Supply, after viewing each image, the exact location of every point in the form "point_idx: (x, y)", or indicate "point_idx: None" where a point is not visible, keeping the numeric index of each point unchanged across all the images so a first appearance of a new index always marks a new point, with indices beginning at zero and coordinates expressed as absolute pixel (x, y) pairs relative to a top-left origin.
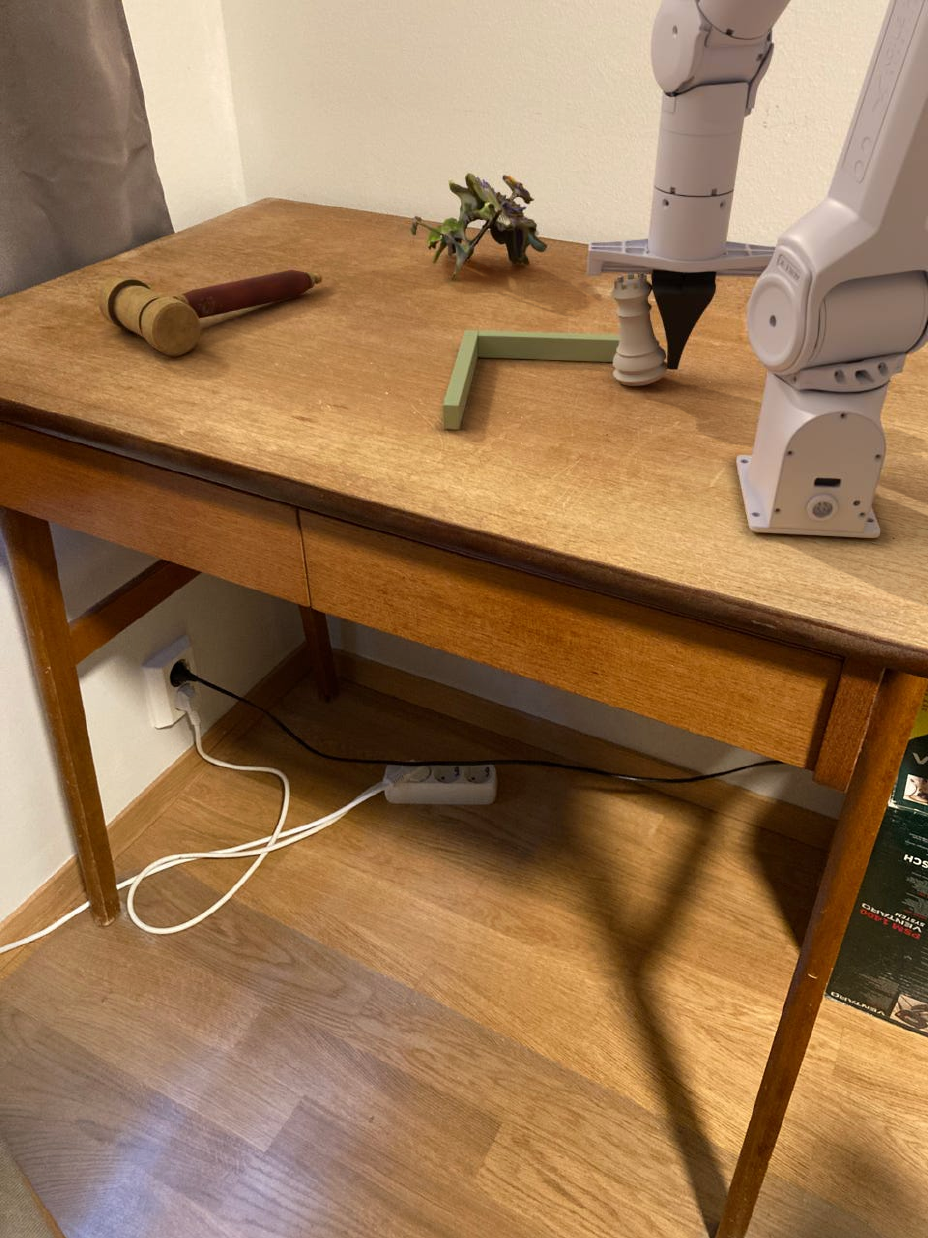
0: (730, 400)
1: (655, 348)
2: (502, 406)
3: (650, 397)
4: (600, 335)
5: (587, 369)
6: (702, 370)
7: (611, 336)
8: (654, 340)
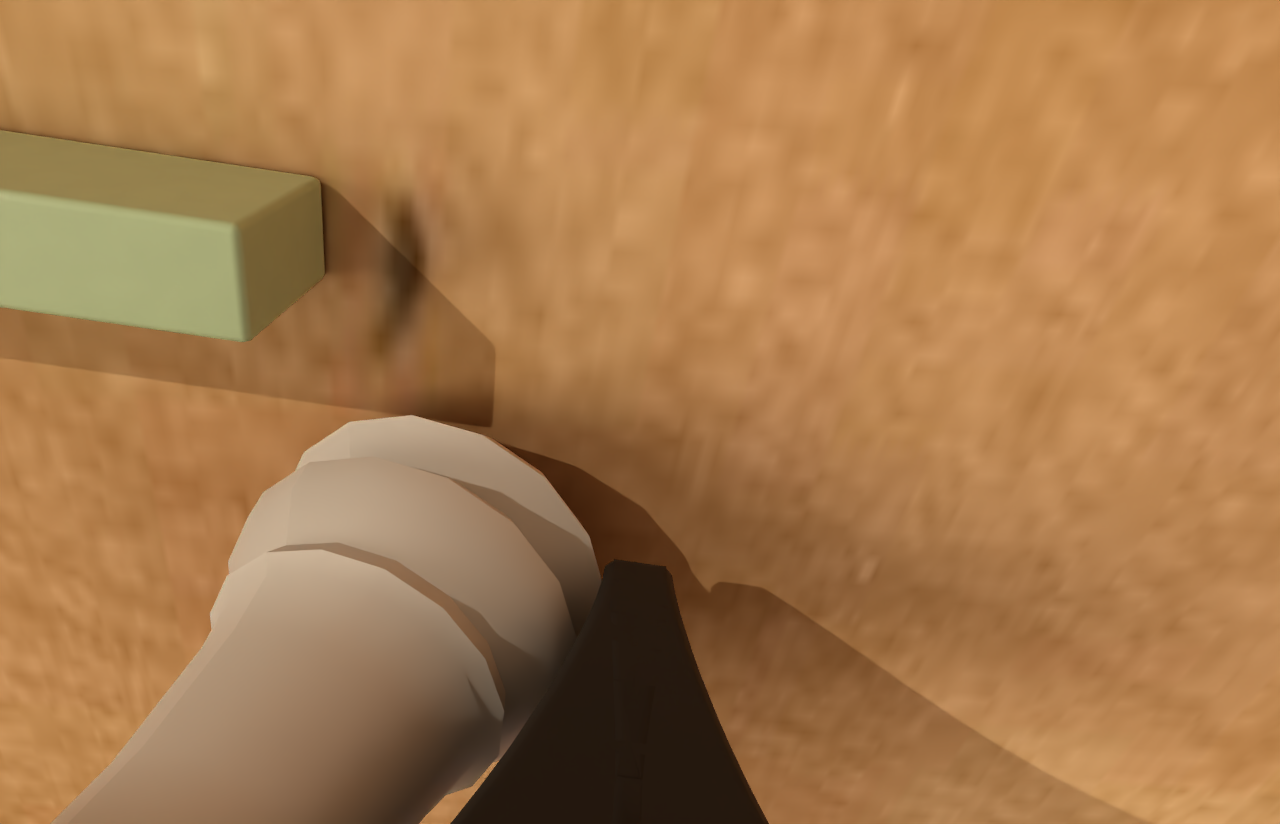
0: (898, 745)
1: (467, 784)
2: None
3: None
4: (54, 236)
5: (126, 360)
6: (882, 424)
7: (157, 266)
8: (447, 791)
